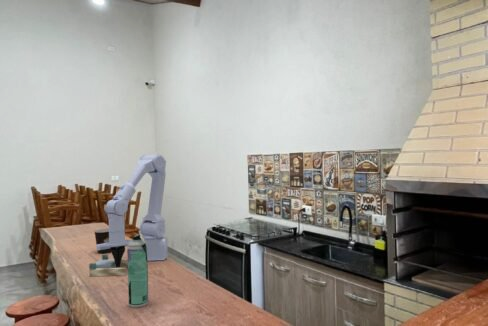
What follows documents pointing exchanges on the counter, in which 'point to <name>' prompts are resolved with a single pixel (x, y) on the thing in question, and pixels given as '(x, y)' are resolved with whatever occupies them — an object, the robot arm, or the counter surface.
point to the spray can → (137, 272)
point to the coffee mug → (102, 239)
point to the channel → (108, 270)
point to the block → (105, 264)
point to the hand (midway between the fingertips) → (117, 266)
